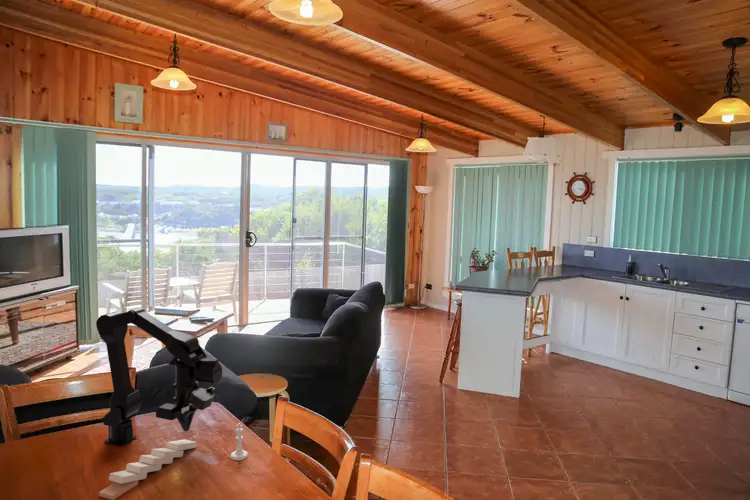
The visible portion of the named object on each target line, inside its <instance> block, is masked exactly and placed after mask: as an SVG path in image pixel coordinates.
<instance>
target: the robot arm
mask: <svg viewBox="0 0 750 500" xmlns="http://www.w3.org/2000/svg"><path fill="white" fill-rule="evenodd" d="M130 324H133V325H134V326H135V327H137V328H138V329H140V330H142V331H143V332H145V333H147V335H150V336H151V337H153V338H154V339H156V340H158V341H159V342H160V343H162V344H163V345H164V346H165V348H166V350H167V352H168V353H169V354H170V355H172V356H173V358H172V359H171V360H170V361H169V362H168V366H175V382H174V383H172V388H173V389H175V396H174V397H172V402H174V403H175V404H172V403H165V404H162V405H161V406H158V407H157V408H156V409H155V417H156V418H158V419H162V420H166V421H167V420H168V421H174V420H176V419H177V420H178V423H179V425H180V426H181V428H182V430H183V431H184V432H188V431H190V427H191V425H192V422H193V418H194V415H195V414H196V412H197V411H198V410H199V411H204V410H205V409H207V408H209V407H211V406H212V403H213V401H214V400H216V399H217V397H216V395H217V391H216V388H215V387H213V386H210V387H208V388H204V387H201V383H208V384H218V383H220V381H221V379H222V376H223V367H222V365H221V364H220V361H219V359H218V358H212V359H211V358H208V356H207V354H206V352H205V351H204V350H203V348H202V347H201V345H200V341H199V339H198V338H197V337H196V336H194V335H192V334H188V333H186V332H181V331H178V330H176V329H175V330H174V329H173V328H172V327H170V326H168V325H167V324H166V323H164V322H162V321H160V319H157V318H156V317H155V316H153V315H151V314H150V313H149V312H147V311H146V310H145V309H144V308H142V307H137V308H133V309H130V310H127V311H126V312H122V311H120V310H116V311H113V312H109V313H105V314H103V315H100V316H98V318H97V319H96V322H95V326H96V330H97V332H98V336H99V337H100V339H101V340H102V341H103V342H104V343H105V344H106V352H107V357H108V363H109V369H110V375H111V382H112V389H113V391H112V395H111V397H110V401H109V411H108V412H107V413H106V414H105V415H104V416H103V417H102V419H101V420H102V423H103V425H104V426H106V427H107V429H108V430H107V431H108V438H107V439H105V440H104V443H107V444H110V445H113V446H114V445H115V446H119V447H120V446H122V445H124V444H126V443H128V442H130V441H133V440H134V439H136V438H137V435H134V426H133V419H132V418H135V417H136V416H137V413H138V412H139V410H140V409H141V406H142V403H143V399H142V397H141V396H142V395H141V390H140V389H135V388H134V387H133V385H132V382H131V376H130V368H129V363H128V356H127V351H126V349H127V348H126V343H125V338H126V335H127V333H128V330H129V329H128V328H129V326H128V325H130ZM192 356H193V357H192Z"/></svg>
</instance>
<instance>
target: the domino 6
mask: <svg viewBox="0 0 750 500" xmlns="http://www.w3.org/2000/svg"><path fill="white" fill-rule="evenodd" d="M197 443H198V442H197V441H193V440H189V439H179V440H172V441H166V442H165V447H164V448H167V449H172V450H176V451H180V450H182V451H185V450H190V449H196V447H197Z"/></svg>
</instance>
